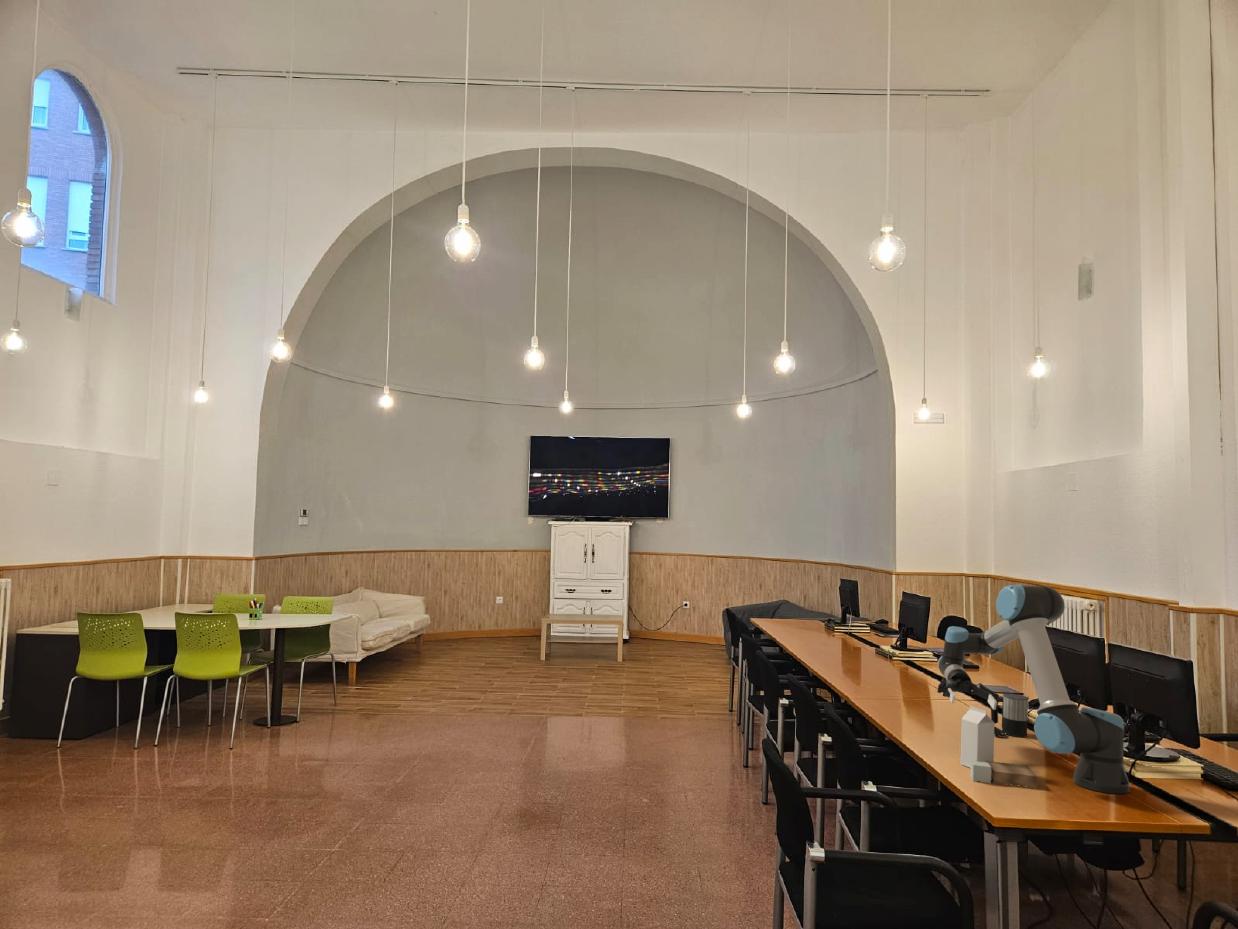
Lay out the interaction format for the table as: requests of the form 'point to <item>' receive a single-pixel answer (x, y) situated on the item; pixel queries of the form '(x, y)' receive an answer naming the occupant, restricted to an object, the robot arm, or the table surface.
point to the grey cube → (980, 771)
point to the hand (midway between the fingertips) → (974, 702)
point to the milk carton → (977, 737)
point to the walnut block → (1012, 774)
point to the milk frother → (1011, 715)
